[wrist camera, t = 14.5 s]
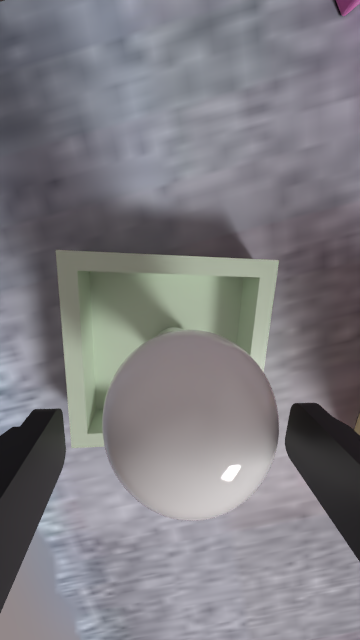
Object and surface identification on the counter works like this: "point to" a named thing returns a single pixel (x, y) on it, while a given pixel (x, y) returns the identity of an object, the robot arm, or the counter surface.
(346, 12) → the gum box
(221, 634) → the counter surface
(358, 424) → the milk carton
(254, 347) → the tray
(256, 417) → the lightbulb
